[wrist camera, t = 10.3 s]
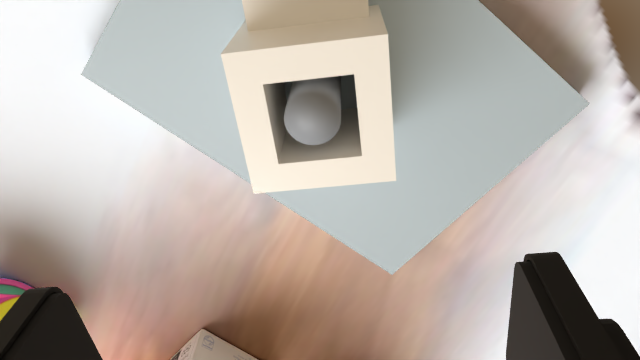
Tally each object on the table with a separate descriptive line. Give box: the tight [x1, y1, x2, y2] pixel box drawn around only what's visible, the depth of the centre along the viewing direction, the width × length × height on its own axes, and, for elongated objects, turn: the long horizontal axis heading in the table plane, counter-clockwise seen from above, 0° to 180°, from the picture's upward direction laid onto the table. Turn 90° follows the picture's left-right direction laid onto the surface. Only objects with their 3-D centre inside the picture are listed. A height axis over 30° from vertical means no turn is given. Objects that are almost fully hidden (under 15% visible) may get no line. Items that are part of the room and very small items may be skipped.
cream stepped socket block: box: [221, 0, 396, 194], centre depth 19 cm, size 11×6×5 cm, turn 8°
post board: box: [81, 0, 590, 274], centre depth 22 cm, size 20×14×6 cm
